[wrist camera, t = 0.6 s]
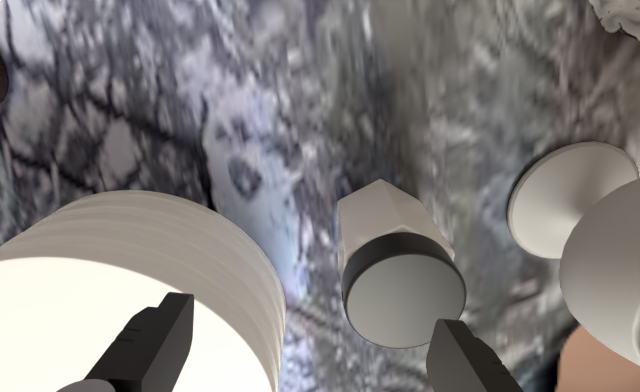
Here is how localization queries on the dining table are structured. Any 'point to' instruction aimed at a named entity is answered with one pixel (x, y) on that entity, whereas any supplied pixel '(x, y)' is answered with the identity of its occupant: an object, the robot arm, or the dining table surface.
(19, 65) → the dining table surface
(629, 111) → the dining table surface
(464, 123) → the dining table surface
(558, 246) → the chalice
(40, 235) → the plate stack
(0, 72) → the bottle
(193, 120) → the dining table surface
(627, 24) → the brain slice
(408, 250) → the jar
